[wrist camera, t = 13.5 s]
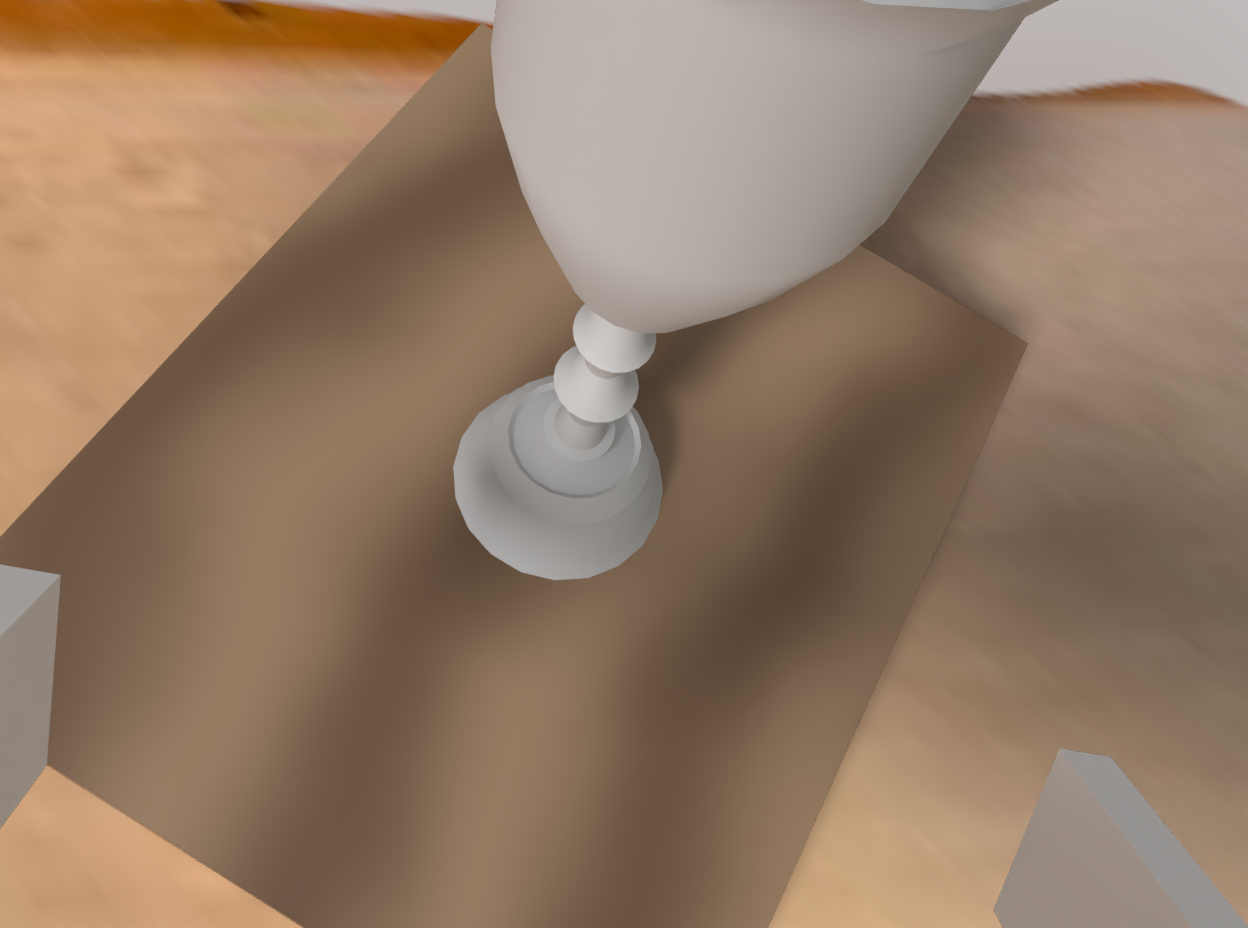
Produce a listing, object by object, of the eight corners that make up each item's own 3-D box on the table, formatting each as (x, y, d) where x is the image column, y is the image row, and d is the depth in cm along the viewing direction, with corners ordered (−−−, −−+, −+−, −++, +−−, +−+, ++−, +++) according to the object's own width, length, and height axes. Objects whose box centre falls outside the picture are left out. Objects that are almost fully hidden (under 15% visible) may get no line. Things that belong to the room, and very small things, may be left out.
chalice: (431, 328, 28) (515, -573, 12) (697, 363, 29) (1109, -413, 13) (398, 613, 24) (449, -77, 8) (697, 639, 26) (1245, 75, 10)
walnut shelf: (932, 436, 36) (1027, 343, 31) (607, 1120, 26) (666, 1156, 21) (466, 159, 37) (481, 23, 32) (-20, 722, 27) (-116, 660, 22)
